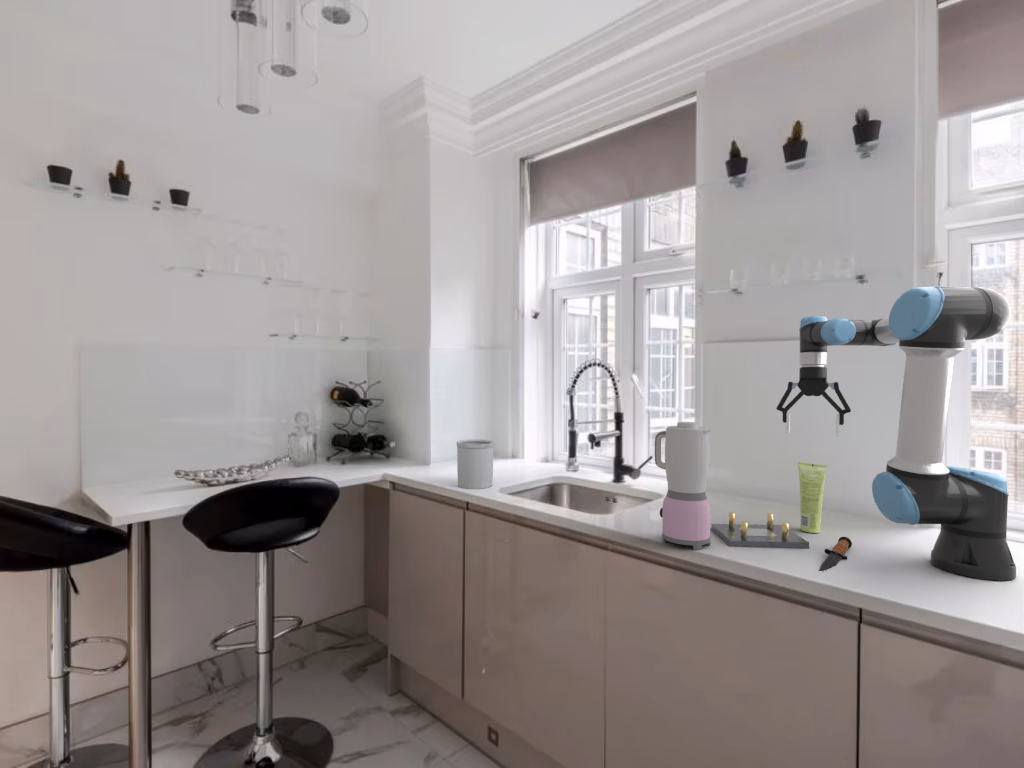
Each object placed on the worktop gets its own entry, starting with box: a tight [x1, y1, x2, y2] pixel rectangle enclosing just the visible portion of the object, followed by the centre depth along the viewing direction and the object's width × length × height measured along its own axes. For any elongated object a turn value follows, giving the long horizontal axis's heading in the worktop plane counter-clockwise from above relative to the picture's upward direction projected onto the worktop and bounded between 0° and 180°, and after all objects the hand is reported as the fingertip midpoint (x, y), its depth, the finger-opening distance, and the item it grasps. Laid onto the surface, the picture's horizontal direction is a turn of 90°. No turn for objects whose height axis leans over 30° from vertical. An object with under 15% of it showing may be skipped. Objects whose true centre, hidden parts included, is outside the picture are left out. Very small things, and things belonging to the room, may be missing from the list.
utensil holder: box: [456, 438, 495, 490], centre depth 215 cm, size 15×15×18 cm
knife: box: [818, 536, 853, 572], centre depth 132 cm, size 25×3×5 cm
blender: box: [654, 421, 712, 551], centre depth 145 cm, size 16×12×32 cm
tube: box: [797, 461, 828, 534], centre depth 155 cm, size 6×5×20 cm
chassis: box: [710, 511, 810, 549], centre depth 148 cm, size 16×20×6 cm
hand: (812, 434), depth 169 cm, fingers open, 13 cm apart
